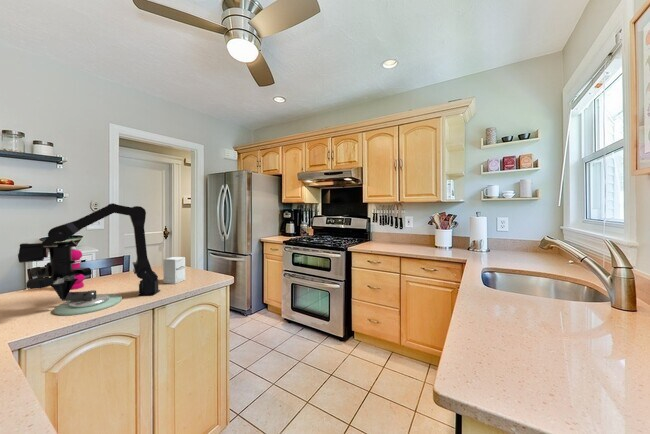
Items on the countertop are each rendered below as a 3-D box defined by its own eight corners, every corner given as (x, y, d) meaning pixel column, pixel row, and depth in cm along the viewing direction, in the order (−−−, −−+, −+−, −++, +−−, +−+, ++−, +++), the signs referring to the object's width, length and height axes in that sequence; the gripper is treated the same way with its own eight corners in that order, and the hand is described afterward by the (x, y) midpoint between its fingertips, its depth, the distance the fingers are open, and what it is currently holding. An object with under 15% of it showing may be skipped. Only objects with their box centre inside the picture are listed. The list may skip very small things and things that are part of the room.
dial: (116, 296, 110) (116, 286, 110) (94, 307, 98) (94, 296, 98) (76, 297, 108) (76, 287, 108) (49, 308, 96) (48, 298, 96)
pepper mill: (74, 290, 121) (73, 248, 120) (59, 290, 121) (58, 247, 120) (89, 285, 128) (87, 245, 127) (74, 285, 128) (73, 245, 127)
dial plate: (132, 295, 115) (132, 292, 114) (98, 314, 95) (98, 310, 95) (83, 297, 112) (82, 294, 112) (37, 316, 92) (37, 313, 92)
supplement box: (175, 284, 131) (174, 259, 130) (163, 283, 133) (162, 258, 132) (186, 280, 138) (185, 256, 138) (174, 279, 140) (173, 256, 139)
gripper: (67, 253, 108) (68, 290, 109) (10, 264, 89) (12, 308, 90) (92, 254, 107) (93, 291, 108) (40, 264, 89) (42, 309, 90)
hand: (63, 299), depth 99 cm, fingers closed
